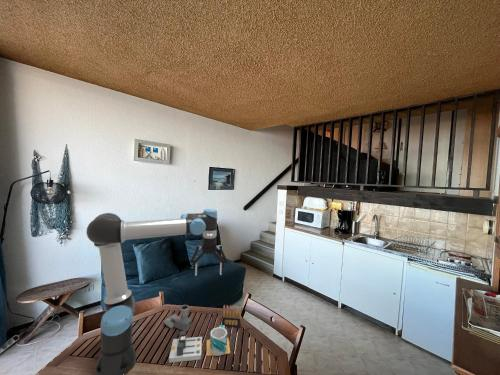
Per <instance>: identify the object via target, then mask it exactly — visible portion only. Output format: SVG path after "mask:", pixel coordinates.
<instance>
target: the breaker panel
mask: <svg viewBox="0 0 500 375" xmlns="http://www.w3.org/2000/svg"><path fill="white" fill-rule="evenodd" d="M178 343H179V338H173V339H172V344H171V349H170V352H169V356H168V363H171V364H172V363H179V362H189V361H197V360H198V361H199V360H202V344H203V336H197V337H195V336H194V337H193V336H192V337H186V347H185V348H184V349H183V355H179V356H177V344H178Z"/></svg>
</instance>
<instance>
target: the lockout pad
mask: <svg viewBox="0 0 500 375" xmlns="http://www.w3.org/2000/svg"><path fill="white" fill-rule="evenodd" d="M230 354H231V349H230V342H229V337H227V350H226V352H225V353H224V354H222V355H221V356H223V355H230ZM211 356H213V357H214V355H213V354H212V353H210V339H206V357H211Z"/></svg>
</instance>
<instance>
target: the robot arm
mask: <svg viewBox="0 0 500 375" xmlns="http://www.w3.org/2000/svg"><path fill="white" fill-rule="evenodd" d="M217 226H218V211H217V210H216V209H214V208H206V209H203V212H200V213H182V214H181V216H180V218H169V219H156V220H137V221H125V220H123V219H121V217H120V216H119V215H117V214H116V213H113V212H105V213H101V214H98V215H97V216H96V217H95V218H94V219H93V220H91V221H90V223H88V225H87V227H86V236H87V238H88V240H89V241H90V242H92V243H93V245H94V246H93V247H95V248H97V249H98V250H99V256H100V262H101V267H102V268H101V269H102V273H103V278H104V284H105V289H106V290H105V291H106V297H105V299H104V308H105V313H104V314H103V315H102V316H101V320H100V324H99V325H100V353H99V356H98V358H97V361H96V364H95V369H94V371H95V372H94V374H95V373H96V374H95V375H123V374H125V375H126V374H127V373H128V371H129V370H130V369H131V370H132V369H133V368H134V367H135V365H136V362H137V353H136V350H135V348H134V345H133V322H134V313H135V308H136V300H135V298H134V296H133V293H132V292H133V291H132V290H131V289H129V288H128V282H127V277H126V271H125V265H124V259H123V253H122V245H121V243H124V242H125V241H127V240H137V239H138V240H139V239H149V238H150V239H151V238H157V237H158V238H160V237H170V236H180V235H191V234H192V235H194V236H199V235H200V236H201V235H202V245H199V244H197V245H196V249H195V251H194V252H193V255H192V256H191V258H190V260H189V262H190V264H193V265H192V266H193V270H195V271H194V276H195V277H196V276H197V275H198V261H199V260H200V259H201V258H202V257H203V256H204V255H215V257H216V258H217V259H218V260H219V261H220V262H219V264H220V265H219V275H220V276H222V270H223V269H224V266H225V264H224V263H227V262H228V258H227V256H226V255H225V253H224V250H223V247H222V245H221V244H219V245H217V233H218V232H217V231H218V229H217V228H218V227H217ZM217 249H218V250H219V251H220V254H221V255H222V256H221V255H220V254H219V253H218V252H217ZM199 250H202V251H201V253H199V254H198V252H199ZM197 254H198V255H197ZM196 256H197V257H196ZM131 370H130V371H131ZM130 371H129V372H130Z"/></svg>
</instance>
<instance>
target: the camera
mask: <svg viewBox="0 0 500 375" xmlns="http://www.w3.org/2000/svg"><path fill="white" fill-rule="evenodd" d="M189 310H190V308H189V305H188V304H183V305H181V306H180V315H179V316H178V314H176V313H173V314H172V315H170V316H169V317H168V318H166V319H164V320H162V323H163V324H164V325H166V326H167V327H168V328H169V329H171V330H172V329H173V328H176V329H177V330H180V331H185V333H186V332H189V330H191V328H192V318H190V317H189Z"/></svg>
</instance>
